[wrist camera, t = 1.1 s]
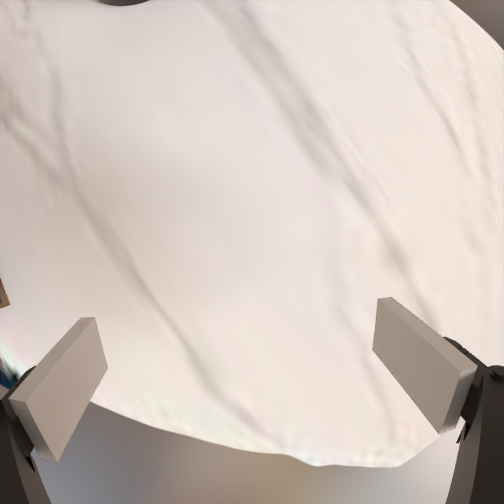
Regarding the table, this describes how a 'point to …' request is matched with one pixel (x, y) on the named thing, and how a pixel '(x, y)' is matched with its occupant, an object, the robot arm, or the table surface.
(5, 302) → the board
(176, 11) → the table surface
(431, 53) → the table surface
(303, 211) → the table surface
